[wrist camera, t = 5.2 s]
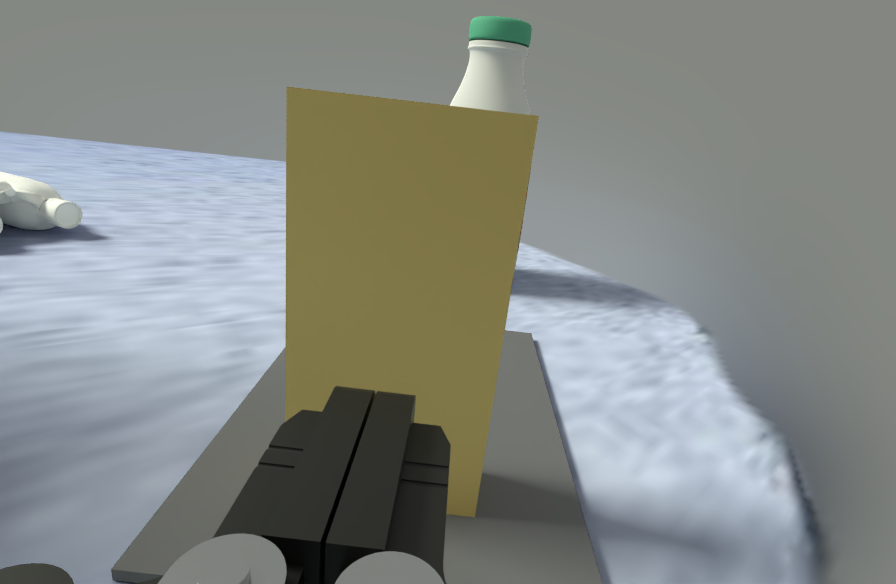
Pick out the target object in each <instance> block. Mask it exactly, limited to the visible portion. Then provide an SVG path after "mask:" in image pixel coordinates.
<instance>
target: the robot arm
mask: <svg viewBox="0 0 896 584" xmlns="http://www.w3.org/2000/svg"><path fill="white" fill-rule="evenodd" d="M415 404H416V395H409V394H400V393H392V392H383V391H377V393H375V390H367V389H359V388H350V387H341V386H335V387H334V389H333V391H332V393H331V395H330V397H329V399H328V401H327V403H326V405H325V407H324V409H323V411H322V412H319V411H311V410H301V411H300V412H298V413H297V414H295V415H294V416H293V417H291V418H290V419H288V420H287V421H286V422H284V423H283V424H282V425H281V426H280V427H279V429H278V431H277V432H276V434H275V436H274V437H273V439H272V441H271V442H270V444H269V448H268V449H266V450H265V452H264V454H263V455H262V457H261V459H260V460H259V463H258V467H257V466H256V467H255V469H254V470H253V472H252V474H251V475H250V477H249V479H248V480H247V482H246V484H245V485H244V487H243V488H242V490H241V492H240V493H239V495H238V497H237V498H236V500H235V502H234V503H233V505H232V507H231V508H230V510H229V512H228V513H227V515H226V517H225V518H224V520H223V522H222V523H221V525H220V527H219V528H218V530H217V531H216V533H215V535H214V536H213V538H212V539H210V540H207V541H205V542H202V543H201V544H199V545H197V546H195V547H193V548H192V549H190V550H189V551H187V552H186V553H184V554H183V555H182V556H181V557H180V558H179V559H178V560H176V561H175V562H174V564H173V565H172V566H171V567H170V568H169V569H168V571H167V572H166V573H165V575H163V576H160V577H158V578H155V579H151V580H148V581H145V582H140V583H136V584H446V581H445V577H444V572H443V558H444V543H445V527H446V512H447V496H448V481H449V465H450V450H451V444H450V443H449V441H448V439H447V437H446V435H445V433H444V431H443V430H442V428H441V426H437V425H429V424H420V423H414V415H415ZM0 584H74V583H73V580H72V578H71V577H70V576H69V574H68V573H67V572H65V571H64V570H63V569H61V568H59V567H56V566H53V565H48V564H36V563H31V564H22V565H16V566H12V567H7V568H4V569H1V570H0Z"/></svg>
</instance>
